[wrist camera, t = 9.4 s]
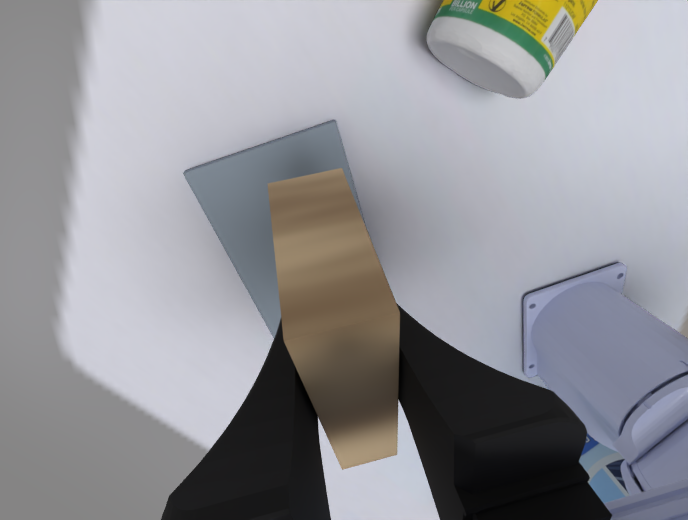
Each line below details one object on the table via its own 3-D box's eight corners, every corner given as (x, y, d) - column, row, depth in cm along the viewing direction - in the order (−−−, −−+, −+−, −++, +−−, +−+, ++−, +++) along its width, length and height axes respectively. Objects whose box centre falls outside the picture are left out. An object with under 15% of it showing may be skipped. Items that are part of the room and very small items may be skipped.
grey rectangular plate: (384, 296, 24) (386, 301, 23) (274, 334, 24) (275, 340, 23) (334, 119, 18) (336, 121, 17) (185, 170, 18) (183, 173, 17)
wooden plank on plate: (363, 339, 19) (397, 454, 15) (320, 349, 19) (342, 469, 15) (341, 167, 11) (400, 312, 7) (267, 183, 11) (284, 340, 7)
